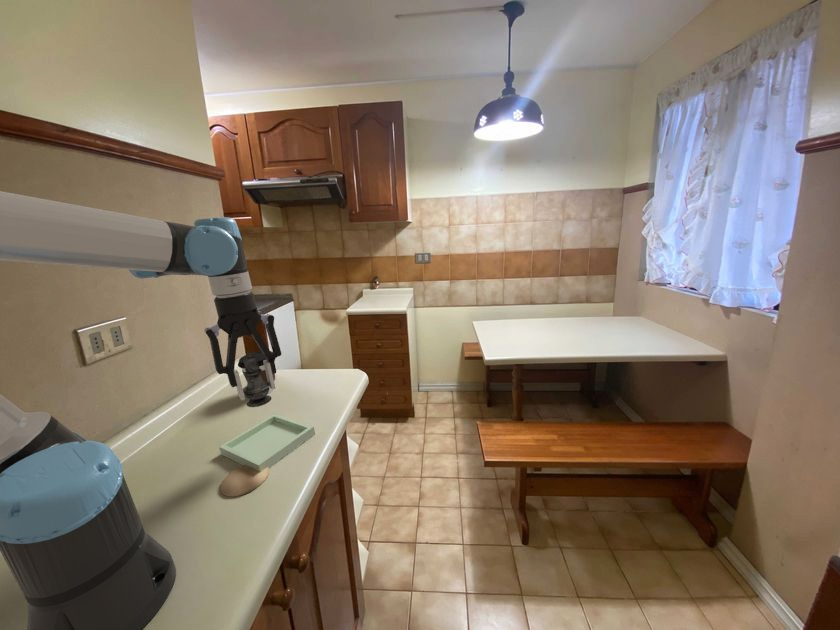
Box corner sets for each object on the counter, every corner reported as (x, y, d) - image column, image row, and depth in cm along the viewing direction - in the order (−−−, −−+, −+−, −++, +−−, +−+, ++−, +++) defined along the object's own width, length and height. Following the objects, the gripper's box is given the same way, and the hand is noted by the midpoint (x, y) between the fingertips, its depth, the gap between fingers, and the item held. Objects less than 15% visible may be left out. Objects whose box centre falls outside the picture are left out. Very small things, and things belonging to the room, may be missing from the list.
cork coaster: (237, 502, 64) (237, 500, 64) (211, 487, 69) (211, 485, 69) (278, 471, 72) (277, 469, 71) (252, 459, 76) (251, 458, 76)
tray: (260, 473, 72) (258, 465, 71) (221, 454, 79) (219, 446, 79) (315, 434, 84) (313, 426, 83) (276, 420, 91) (274, 413, 91)
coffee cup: (251, 386, 114) (243, 352, 111) (285, 380, 116) (278, 347, 113) (240, 402, 104) (231, 365, 100) (278, 396, 105) (270, 360, 102)
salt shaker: (262, 408, 75) (251, 357, 72) (239, 407, 76) (227, 357, 73) (278, 395, 81) (268, 347, 78) (256, 394, 82) (246, 347, 79)
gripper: (182, 306, 63) (213, 415, 70) (284, 286, 74) (303, 382, 81) (178, 301, 69) (208, 402, 75) (273, 284, 80) (292, 373, 86)
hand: (257, 392), depth 78 cm, fingers closed on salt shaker, 6 cm apart
